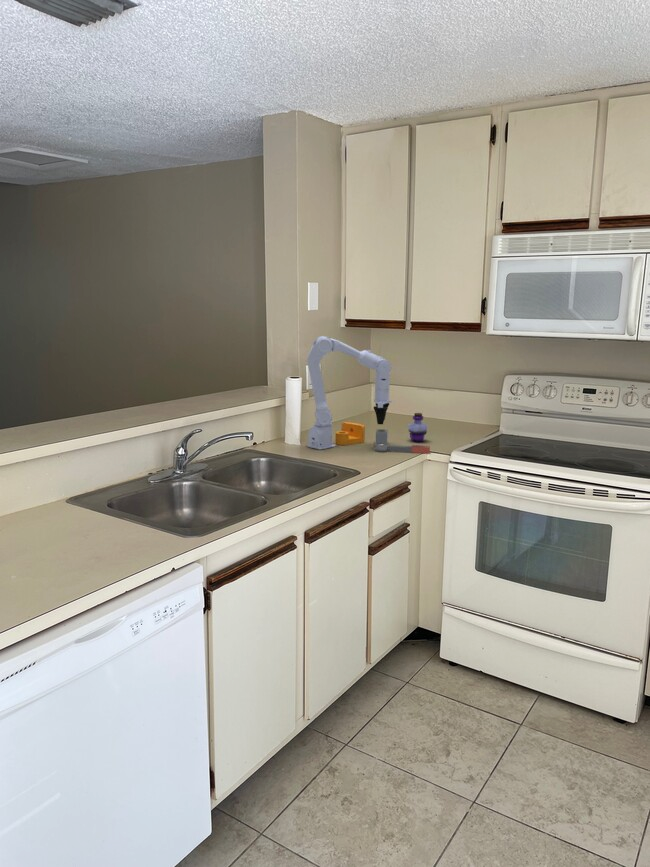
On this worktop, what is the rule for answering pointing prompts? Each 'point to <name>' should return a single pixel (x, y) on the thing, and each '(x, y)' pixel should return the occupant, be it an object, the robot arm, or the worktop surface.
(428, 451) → the ratchet
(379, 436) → the grey brushed cube
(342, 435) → the bracket
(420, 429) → the potion bottle
